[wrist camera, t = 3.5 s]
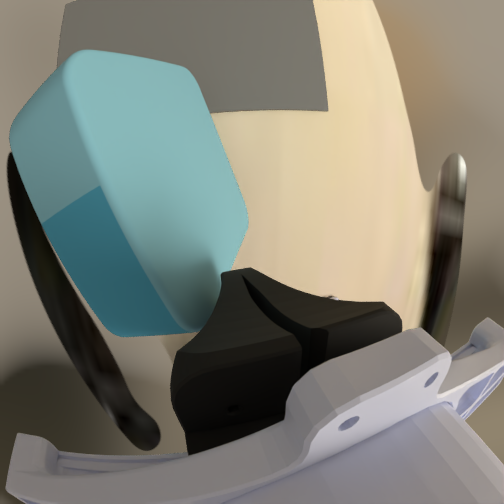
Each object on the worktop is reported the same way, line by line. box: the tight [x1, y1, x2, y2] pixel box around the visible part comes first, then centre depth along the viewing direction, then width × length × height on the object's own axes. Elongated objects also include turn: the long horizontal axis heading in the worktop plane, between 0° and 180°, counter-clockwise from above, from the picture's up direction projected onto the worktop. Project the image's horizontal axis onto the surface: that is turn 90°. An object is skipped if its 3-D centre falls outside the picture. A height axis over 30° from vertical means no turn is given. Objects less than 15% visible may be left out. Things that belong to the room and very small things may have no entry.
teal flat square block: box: [9, 50, 248, 337], centre depth 13 cm, size 12×4×12 cm, turn 20°
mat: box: [57, 0, 328, 113], centre depth 16 cm, size 14×22×1 cm, turn 94°
